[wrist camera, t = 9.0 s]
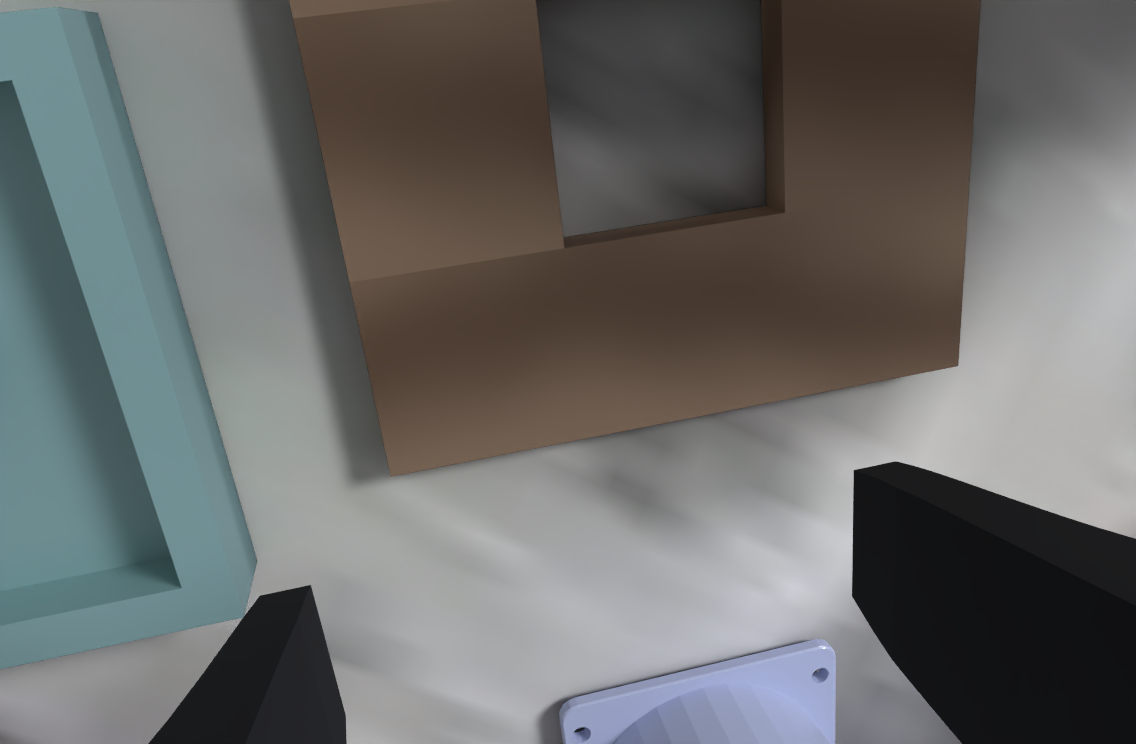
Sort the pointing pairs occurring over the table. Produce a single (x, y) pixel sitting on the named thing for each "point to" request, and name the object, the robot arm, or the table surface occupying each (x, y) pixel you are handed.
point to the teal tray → (97, 374)
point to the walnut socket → (640, 253)
